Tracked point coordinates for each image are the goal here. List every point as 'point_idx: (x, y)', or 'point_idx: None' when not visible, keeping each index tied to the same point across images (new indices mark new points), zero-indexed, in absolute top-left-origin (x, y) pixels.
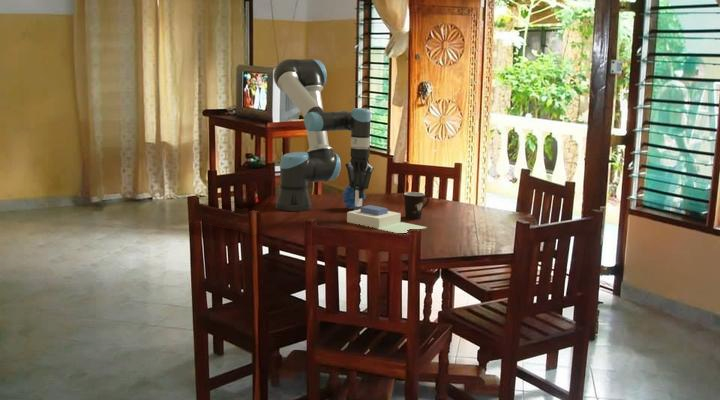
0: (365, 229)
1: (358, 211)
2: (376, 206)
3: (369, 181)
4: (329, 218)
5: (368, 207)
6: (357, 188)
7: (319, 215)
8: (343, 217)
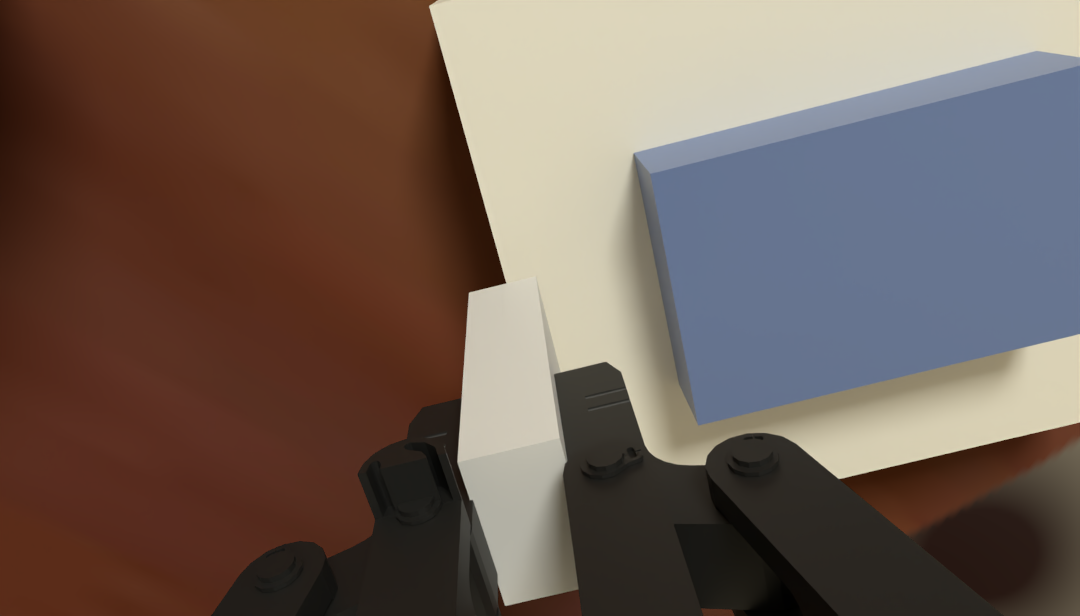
0: (971, 475)
1: (633, 388)
2: (830, 146)
3: (963, 586)
4: (297, 528)
5: (803, 331)
6: (484, 563)
7: (91, 546)
8: (318, 358)
